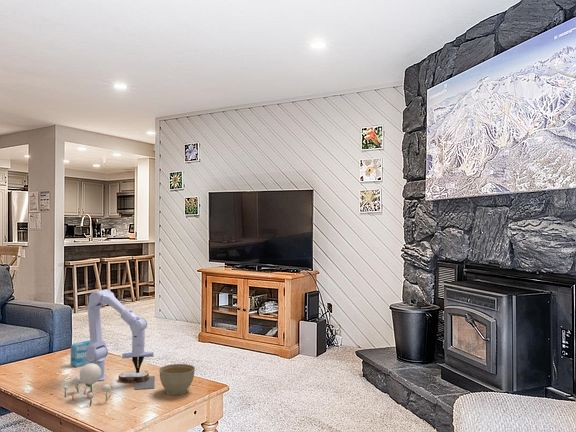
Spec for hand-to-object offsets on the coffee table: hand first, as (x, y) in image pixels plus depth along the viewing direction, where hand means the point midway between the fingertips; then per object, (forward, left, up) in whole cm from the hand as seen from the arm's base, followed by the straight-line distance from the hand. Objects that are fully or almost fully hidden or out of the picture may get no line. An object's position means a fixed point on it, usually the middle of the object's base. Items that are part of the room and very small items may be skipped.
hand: (137, 372), depth 234 cm
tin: (-4, +2, -3) cm, 5 cm away
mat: (+4, 0, -5) cm, 6 cm away
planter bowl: (+18, -16, -6) cm, 25 cm away
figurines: (-20, -16, -6) cm, 27 cm away
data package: (-30, +39, -6) cm, 50 cm away
